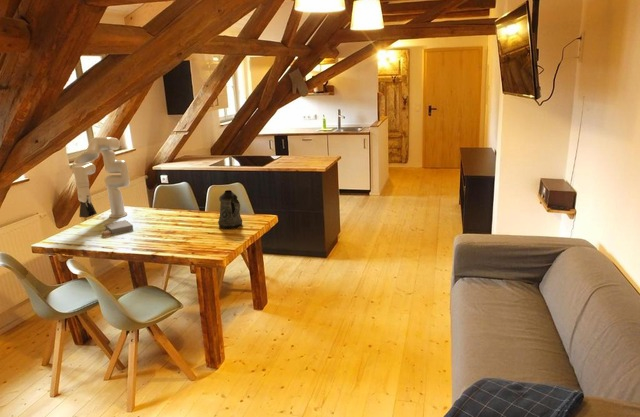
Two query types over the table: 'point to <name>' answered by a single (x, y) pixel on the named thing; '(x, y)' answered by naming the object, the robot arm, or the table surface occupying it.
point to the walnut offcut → (106, 233)
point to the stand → (119, 227)
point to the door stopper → (86, 210)
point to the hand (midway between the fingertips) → (87, 210)
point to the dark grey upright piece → (229, 211)
